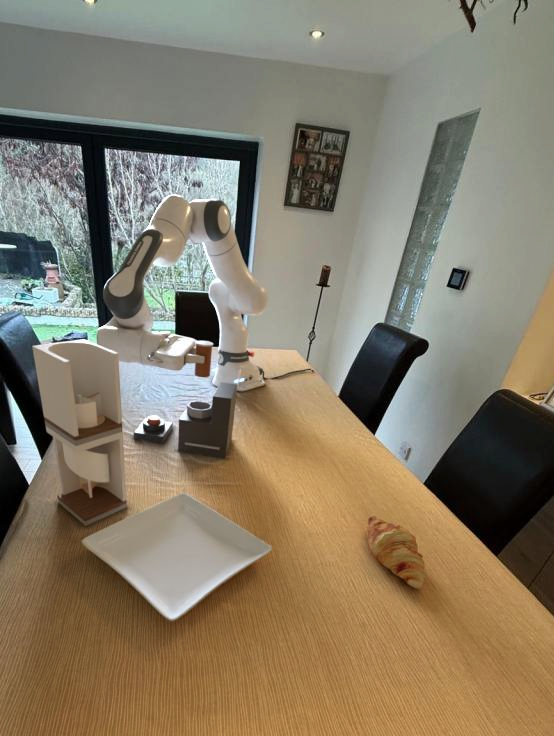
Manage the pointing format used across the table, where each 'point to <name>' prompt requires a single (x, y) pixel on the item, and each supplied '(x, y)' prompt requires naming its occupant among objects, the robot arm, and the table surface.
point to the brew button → (153, 420)
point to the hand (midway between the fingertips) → (206, 356)
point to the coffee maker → (209, 424)
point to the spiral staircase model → (84, 425)
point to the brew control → (153, 431)
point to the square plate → (176, 552)
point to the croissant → (396, 550)
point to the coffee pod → (205, 350)
